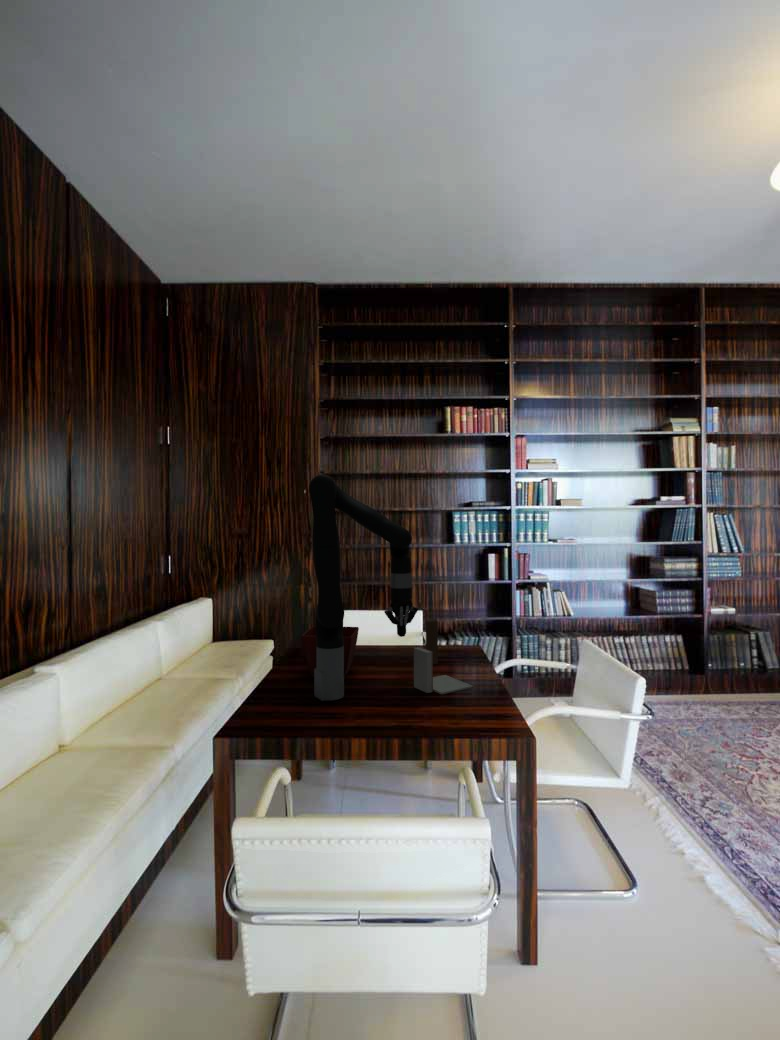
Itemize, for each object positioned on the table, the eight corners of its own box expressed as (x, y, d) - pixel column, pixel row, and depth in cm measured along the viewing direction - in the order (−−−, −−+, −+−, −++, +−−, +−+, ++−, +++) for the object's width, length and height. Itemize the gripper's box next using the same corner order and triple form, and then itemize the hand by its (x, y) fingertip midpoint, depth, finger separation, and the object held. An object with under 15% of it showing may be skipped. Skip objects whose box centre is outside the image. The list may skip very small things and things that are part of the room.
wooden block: (416, 664, 220) (416, 621, 220) (415, 661, 225) (415, 619, 225) (438, 664, 221) (437, 621, 220) (436, 661, 225) (436, 619, 225)
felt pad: (441, 694, 183) (441, 692, 183) (415, 682, 196) (415, 680, 196) (472, 687, 190) (472, 685, 190) (445, 676, 204) (445, 674, 204)
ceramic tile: (427, 693, 184) (426, 652, 184) (414, 687, 191) (413, 648, 191) (432, 691, 186) (432, 651, 186) (419, 685, 193) (419, 647, 193)
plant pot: (359, 667, 217) (359, 626, 217) (351, 681, 198) (351, 636, 198) (313, 666, 219) (313, 625, 219) (301, 680, 200) (300, 635, 200)
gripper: (390, 588, 177) (391, 640, 177) (423, 585, 184) (423, 635, 184) (379, 586, 183) (379, 636, 183) (410, 583, 190) (411, 631, 190)
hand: (401, 636), depth 184 cm, fingers closed
